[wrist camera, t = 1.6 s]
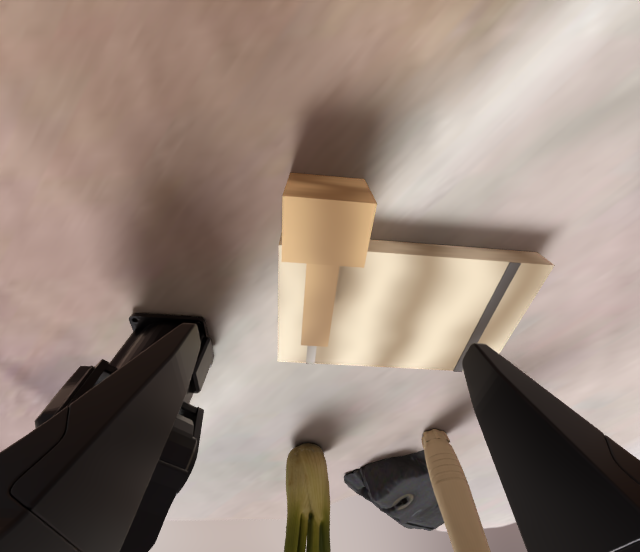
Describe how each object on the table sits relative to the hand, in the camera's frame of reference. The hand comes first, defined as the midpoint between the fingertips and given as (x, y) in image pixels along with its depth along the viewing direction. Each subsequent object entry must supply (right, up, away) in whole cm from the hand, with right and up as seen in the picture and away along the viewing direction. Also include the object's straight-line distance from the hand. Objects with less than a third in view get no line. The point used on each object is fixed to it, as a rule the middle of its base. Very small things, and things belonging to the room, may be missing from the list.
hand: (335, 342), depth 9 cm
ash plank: (+6, 0, +16) cm, 17 cm away
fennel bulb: (-2, -21, +30) cm, 37 cm away
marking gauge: (-1, +4, +13) cm, 14 cm away
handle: (+14, -18, +28) cm, 36 cm away
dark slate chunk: (+14, -32, +37) cm, 51 cm away
